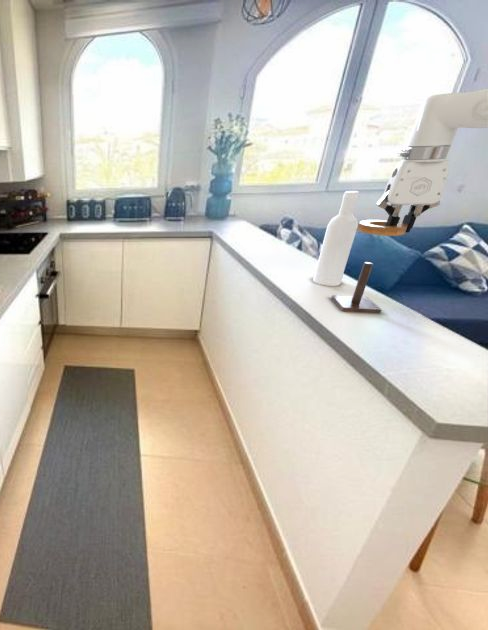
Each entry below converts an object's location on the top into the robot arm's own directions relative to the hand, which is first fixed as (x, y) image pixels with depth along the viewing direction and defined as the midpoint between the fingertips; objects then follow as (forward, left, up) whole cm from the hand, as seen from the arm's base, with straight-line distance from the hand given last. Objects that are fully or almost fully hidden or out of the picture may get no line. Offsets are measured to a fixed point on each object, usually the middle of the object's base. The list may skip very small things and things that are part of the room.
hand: (397, 230), depth 90 cm
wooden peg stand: (+4, 0, -23) cm, 23 cm away
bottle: (+5, -20, -23) cm, 31 cm away
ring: (+4, 0, 0) cm, 4 cm away
